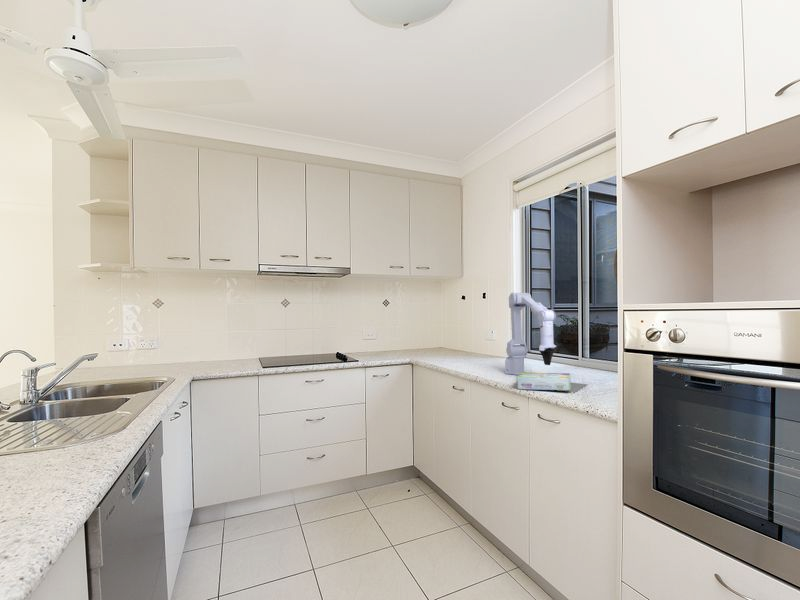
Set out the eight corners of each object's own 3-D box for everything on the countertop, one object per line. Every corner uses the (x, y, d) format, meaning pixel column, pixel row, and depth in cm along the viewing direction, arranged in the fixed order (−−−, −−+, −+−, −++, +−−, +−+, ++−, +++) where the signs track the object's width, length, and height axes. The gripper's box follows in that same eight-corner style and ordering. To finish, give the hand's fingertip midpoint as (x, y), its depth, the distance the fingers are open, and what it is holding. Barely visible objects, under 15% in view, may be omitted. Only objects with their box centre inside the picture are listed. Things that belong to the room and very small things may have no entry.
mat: (545, 389, 160) (545, 388, 160) (560, 382, 175) (560, 381, 175) (574, 393, 152) (574, 392, 152) (587, 385, 168) (587, 384, 168)
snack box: (569, 371, 165) (569, 378, 152) (570, 384, 165) (570, 391, 151) (520, 371, 174) (516, 377, 161) (521, 383, 174) (517, 390, 160)
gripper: (550, 337, 164) (550, 367, 163) (560, 335, 175) (561, 363, 174) (534, 336, 168) (535, 366, 168) (545, 334, 179) (546, 362, 179)
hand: (547, 364), depth 172 cm, fingers closed
